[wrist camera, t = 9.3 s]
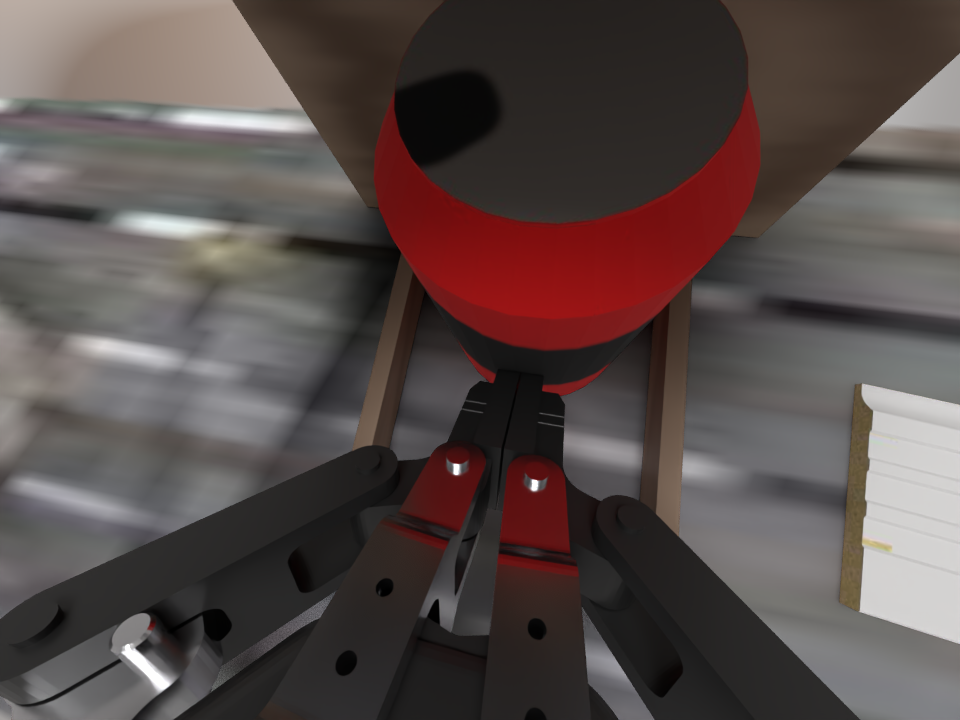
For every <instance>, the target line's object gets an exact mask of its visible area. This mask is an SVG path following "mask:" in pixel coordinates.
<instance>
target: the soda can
mask: <svg viewBox="0 0 960 720" xmlns="http://www.w3.org/2000/svg"><path fill="white" fill-rule="evenodd" d="M759 169H760V129H759V125H758V121H757V117H756V113H755V109H754V105H753V101H752V97H751V93H750V89H749V85H748V55H747V52H746V48H745V45H744V41H743V38H742V34H741V31H740V29H739V27H738V26H737V24H736V22H735V21H734V19H733V17H732V16H731V14H730V12H729V11H728V9H727V7H726V6H725V5H724V4H723V3H722V2H721V1H720V0H445V1H444V2H443V3H442V4H441V5H440V6H439V7H438V8H436V9H435V10H434V11H433V12H432V13H431V14H430V15H429V16H428V18H427V19H426V20H425V22H424V23H423V24H422V25H421V27H420V28H419V29H418V31H417V32H416V33H415V35H414V36H413V38H412V40H411V42H410V44H409V46H408V48H407V49H406V51H405V53H404V55H403V57H402V59H401V63H400V67H399V70H398V74H397V78H396V82H395V90H394V93H393V96H392V98H391V101H390V104H389V107H388V109H387V112H386V115H385V117H384V120H383V123H382V126H381V130H380V134H379V137H378V141H377V145H376V149H375V162H374V184H375V189H376V195H377V200H378V206H379V210H380V212H381V214H382V216H383V219H384V221H385V223H386V226H387V228H388V230H389V232H390V235H391V237H392V238H393V240H394V242H395V243H396V245H397V246H398V248H399V249H400V251H401V253H402V254H403V256H404V257H405V259H406V261H407V262H408V264H409V265H410V267H411V268H412V270H413V272H414V273H415V275H416V276H417V278H418V279H419V281H420V283H421V284H422V286H423V287H424V289H425V291H426V292H427V294H428V295H429V297H430V298H431V300H432V302H433V303H434V305H435V306H436V308H437V309H438V311H439V313H440V314H441V316H442V317H443V319H444V320H445V322H446V324H447V325H448V327H449V328H450V330H451V332H452V333H453V335H454V336H455V338H456V339H457V341H458V343H459V344H460V346H461V347H462V349H463V350H464V352H465V354H466V355H467V357H468V358H469V360H470V361H471V363H472V364H473V365H474V367H475V368H476V369H477V371H478V372H479V373H480V374H481V375H482V376H483V377H484V378H486V379H487V380H488V381H489V382H490V383H493V382H494V379H495V376H496V374H497V371H498V369H504V370H510V371H516V372H520V378H521V374H522V372H523V373H529V374H536V375H543V376H544V381H543V388H542V391H545V392H552V393H558V394H559V395H560V396H562V395H566V394H570V393H572V392H574V391H576V390H578V389H580V388H582V387H584V386H586V385H587V384H588V383H590V382H591V381H592V380H594V379H595V378H596V377H598V376H599V375H600V374H601V373H602V372H603V370H604V369H605V368H606V367H607V366H608V365H609V364H610V363H611V362H612V361H613V360H614V359H615V358H616V357H617V356H618V355H619V354H620V353H621V352H622V351H623V350H624V349H625V348H626V347H627V346H628V344H629V343H630V342H631V341H632V340H633V339H634V338H635V337H636V336H637V335H638V334H639V333H640V332H641V331H642V330H643V329H644V328H645V327H646V326H647V325H648V324H649V323H650V322H651V321H652V320H653V318H654V317H655V316H656V315H657V314H658V313H659V312H660V311H661V310H662V309H663V308H664V307H665V306H666V305H667V304H668V303H669V302H670V301H671V300H672V299H673V298H674V297H675V296H676V295H677V294H678V292H679V291H680V290H681V289H682V288H683V287H684V286H685V285H686V284H687V283H688V282H689V281H690V280H691V279H692V278H693V277H694V276H695V275H696V274H697V273H698V272H699V271H700V270H701V269H702V268H703V266H704V265H705V264H706V263H707V262H708V261H709V260H710V259H711V258H712V257H713V256H714V254H715V253H716V252H717V251H718V250H719V249H720V248H721V246H722V245H723V244H724V243H725V242H726V241H727V240H728V239H729V237H730V236H731V235H732V234H733V233H734V232H735V230H736V228H737V226H738V224H739V222H740V220H741V218H742V217H743V215H744V213H745V211H746V209H747V207H748V205H749V204H750V202H751V200H752V197H753V193H754V189H755V185H756V181H757V177H758V173H759ZM519 383H520V382H519Z"/></svg>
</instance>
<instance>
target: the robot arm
mask: <svg viewBox="0 0 960 720" xmlns="http://www.w3.org/2000/svg"><path fill="white" fill-rule="evenodd" d="M543 381H544V376H543V375H536V374H529V373H523V372H522V374H521V378H520V372H516V371H510V370H504V369H498V371H497V374H496V376H495V379H494V382H493V383H489V382H483V381H480V382H478V383H477V384H476V385H475V386H473V387H472V388H471V389H470V391H469V393H468V395H467V398H466V401H465V402H464V405H463V407H462V410H461V411H460V414H459V416H458V418H457V421H456V423H455V425H454V428H453V430H452V432H451V435H450V437H449V439H448V442H447V443H444V444H442V445H440V446H439V447H437V448H436V449H435V450H434V452H433V453H432V455H431V456H430V457H427V458H424V459H418V460H404V461H398V460H397V457H396V455H395V453H394V452H393V451H392V450H390V449H389V448H387V447H384V446H380V445H369V446H364V447H360V448H358V449H356V450H353V451H351V452H349V453H347V454H344V455H342V456H340V457H338V458H336V459H333V460H331V461H329V462H327V463H325V464H322V465H320V466H318V467H316V468H314V469H311V470H309V471H307V472H305V473H303V474H300V475H298V476H296V477H294V478H292V479H289V480H287V481H285V482H283V483H280V484H278V485H276V486H274V487H272V488H269V489H267V490H265V491H263V492H261V493H258V494H256V495H254V496H252V497H250V498H247V499H245V500H243V501H241V502H239V503H236V504H234V505H232V506H230V507H228V508H225V509H223V510H221V511H219V512H216V513H214V514H212V515H210V516H208V517H205V518H203V519H201V520H199V521H197V522H194V523H192V524H190V525H188V526H186V527H183V528H181V529H179V530H177V531H175V532H172V533H170V534H168V535H166V536H164V537H161V538H159V539H157V540H155V541H152V542H150V543H148V544H146V545H144V546H141V547H139V548H137V549H135V550H133V551H130V552H128V553H126V554H124V555H122V556H119V557H117V558H115V559H113V560H111V561H108V562H106V563H104V564H102V565H100V566H97V567H95V568H93V569H91V570H88V571H86V572H84V573H82V574H80V575H77V576H75V577H73V578H71V579H69V580H66V581H64V582H62V583H60V584H58V585H55V586H53V587H51V588H49V589H47V590H44V591H42V592H40V593H38V594H36V595H34V596H33V597H31V598H29V599H28V600H26V601H24V602H23V603H21V604H20V605H18V606H17V607H15V608H14V609H13V610H11V611H10V612H9V613H7V614H6V615H5V616H4V617H3V618H1V619H0V696H2V697H3V698H4V700H5V702H6V703H7V704H8V705H9V706H10V707H11V708H12V717H11V720H618V718H617V717H616V715H615V714H614V712H613V711H612V710H611V708H610V707H609V706H608V705H607V703H606V702H605V701H604V700H603V699H602V697H601V696H600V695H599V694H598V693H597V692H596V691H595V690H594V689H593V688H592V687H591V686H590V685H589V684H588V679H587V667H586V655H585V643H584V632H583V620H582V608H581V605H582V607H583V609H584V610H585V612H586V613H587V615H588V616H589V618H590V619H591V621H592V623H593V624H594V626H595V627H596V629H597V630H598V632H599V633H600V635H601V637H602V638H603V640H604V641H605V643H606V644H607V646H608V647H609V649H610V651H611V652H612V654H613V655H614V657H615V658H616V660H617V661H618V663H619V665H620V666H621V668H622V669H623V671H624V672H625V674H626V676H627V677H628V679H629V680H630V682H631V683H632V685H633V686H634V688H635V690H636V691H637V693H638V694H639V696H640V697H641V699H642V700H643V702H644V704H645V705H646V707H647V708H648V710H649V711H650V713H651V714H652V716H653V718H654V719H655V720H860V719H859V718H858V717H857V716H856V715H855V714H854V713H853V712H852V711H851V710H850V709H849V708H848V707H847V706H846V705H845V704H844V703H843V702H842V701H841V700H840V699H839V698H838V697H837V696H836V695H835V694H834V693H833V692H832V691H831V690H830V689H829V688H828V687H827V686H826V685H825V684H824V683H823V682H822V681H821V680H820V679H819V678H818V677H817V676H816V675H815V674H814V673H813V672H812V671H811V670H810V669H809V668H808V667H807V666H806V665H805V664H804V663H803V662H802V661H801V660H800V659H799V658H798V657H797V656H796V655H795V654H794V653H793V652H792V651H791V650H790V649H789V648H788V647H787V646H786V645H785V644H784V642H783V641H782V640H781V639H780V638H779V637H778V636H777V635H776V634H775V633H774V632H773V631H772V630H771V629H770V628H769V627H768V626H767V625H766V624H765V623H764V622H763V621H762V620H761V619H760V618H759V617H758V616H757V615H756V614H755V613H754V612H753V611H752V610H751V609H750V608H749V607H748V606H747V605H746V604H745V603H744V602H743V601H742V600H741V599H740V598H739V597H738V596H737V595H736V594H735V593H734V592H733V591H732V590H731V589H730V588H729V587H728V586H727V585H726V584H725V583H724V582H723V581H722V580H721V579H720V578H719V577H718V576H717V575H716V574H715V573H714V572H713V571H712V570H711V569H710V568H709V567H708V566H707V565H706V564H705V563H704V562H703V561H702V560H701V559H700V558H699V557H698V556H697V555H696V554H695V553H694V552H693V551H692V550H691V549H690V548H689V547H688V546H687V545H686V544H685V543H684V542H683V541H682V540H681V539H680V538H679V537H678V536H677V535H676V534H675V533H674V532H673V531H672V530H671V529H670V528H669V527H668V525H667V524H666V523H665V522H664V521H663V520H662V519H661V518H660V517H659V516H658V515H657V514H656V513H655V512H654V511H653V510H651V509H650V508H649V507H648V506H647V505H645V504H644V503H642V502H640V501H639V500H636V499H634V498H631V497H628V496H622V495H615V496H610V497H607V498H605V499H603V500H602V501H599V500H597V499H595V498H593V497H591V496H589V495H587V494H585V493H583V492H581V491H580V490H578V489H577V488H576V487H575V486H574V485H572V484H571V482H570V481H569V480H568V479H567V477H566V475H565V473H564V470H563V440H564V414H565V404H564V402H563V401H562V399H561V397H560V395H559V394H558V393H552V392H545V391H542V388H543ZM519 382H520V383H519ZM499 491H500V493H499ZM498 496H499V503H498V510H499V511H503V513H502V522H501V530H500V539H499V549H498V558H497V567H496V576H495V585H494V595H493V604H492V613H491V622H490V631H489V635H485V636H458V635H454V634H453V633H451V632H452V628H453V623H454V618H455V613H456V608H457V605H458V601H459V598H460V595H461V592H462V589H463V586H464V583H465V580H466V577H467V574H468V571H469V568H470V565H471V562H472V559H473V556H474V552H475V549H476V546H477V543H478V540H479V537H480V534H481V528H482V526H483V523H484V519H485V515H486V511H487V508H489V509H494V510H496V505H497V501H498ZM336 590H337V592H336V593H335V595H334V596H333V598H332V600H331V601H330V603H329V605H328V606H327V608H326V609H325V611H324V613H323V614H322V616H321V618H319V619H317V620H315V621H313V622H311V623H309V624H307V625H306V626H304V627H302V628H300V629H299V630H297V631H296V632H294V633H293V634H292V635H290V636H289V637H287V638H286V639H285V640H283V641H282V642H281V643H279V644H278V645H276V646H275V647H274V648H272V649H271V650H269V651H268V652H267V653H265V654H264V655H262V656H261V657H260V658H258V659H257V660H255V661H254V662H253V663H251V664H250V665H249V666H247V667H246V668H244V669H243V670H242V671H240V672H239V673H237V674H236V675H235V676H233V677H232V678H230V679H229V680H228V681H226V682H225V683H223V684H222V685H221V686H219V687H218V688H216V689H215V690H214V691H212V692H211V690H212V686H213V684H214V682H215V681H216V679H217V677H218V674H219V672H220V669H221V666H222V665H224V664H225V663H227V662H228V661H230V660H232V659H233V658H235V657H236V656H238V655H239V654H241V653H242V652H244V651H245V650H247V649H248V648H250V647H251V646H253V645H254V644H256V643H257V642H259V641H260V640H262V639H263V638H265V637H266V636H268V635H269V634H271V633H273V632H274V631H276V630H277V629H279V628H280V627H282V626H283V625H285V624H286V623H288V622H289V621H291V620H292V619H294V618H295V617H297V616H298V615H300V614H301V613H303V612H304V611H306V610H307V609H309V608H311V607H312V606H314V605H315V604H317V603H318V602H320V601H321V600H323V599H324V598H326V597H327V596H329V595H330V594H332V593H333V592H335V591H336Z"/></svg>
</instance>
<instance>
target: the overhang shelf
mask: <svg viewBox="0 0 960 720" xmlns="http://www.w3.org/2000/svg"><path fill="white" fill-rule="evenodd" d="M444 1H445V0H233V2H234V3H235V5H236V6H237V8H238V10H239V11H240V13H241V14H242V16H243V17H244V19H245V20H246V22H247V23H248V25H249V26H250V28H251V29H252V31H253V32H254V34H255V35H256V37H257V39H258V40H259V42H260V43H261V45H262V46H263V48H264V49H265V51H266V52H267V54H268V55H269V57H270V58H271V60H272V62H273V63H274V64H275V66H276V68H277V69H278V70H279V72H280V74H281V75H282V77H283V78H284V80H285V81H286V83H287V84H288V86H289V87H290V89H291V91H292V92H293V94H294V95H295V97H296V98H297V100H298V101H299V102H300V104H301V106H302V107H303V109H304V110H305V112H306V114H307V115H308V117H309V118H310V120H311V121H312V123H313V124H314V126H315V127H316V129H317V130H318V132H319V133H320V135H321V136H322V138H323V140H324V141H325V143H326V144H327V146H328V147H329V149H330V150H331V152H332V153H333V155H334V156H335V158H336V159H337V161H338V162H339V164H340V166H341V167H342V169H343V170H344V172H345V173H346V175H347V176H348V178H349V179H350V181H351V182H352V184H353V185H354V187H355V188H356V190H357V192H358V193H359V195H360V196H361V198H362V199H363V201H364V202H365V204H366V205H367V207H378V208H379V206H378V200H377V195H376V189H375V184H374V162H375V149H376V145H377V141H378V137H379V134H380V130H381V126H382V123H383V120H384V117H385V115H386V112H387V109H388V107H389V104H390V101H391V98H392V96H393V93H394V90H395V82H396V78H397V74H398V70H399V67H400V63H401V59H402V57H403V55H404V53H405V51H406V49H407V48H408V46H409V44H410V42H411V40H412V38H413V36H414V35H415V33H416V32H417V31H418V29H419V28H420V27H421V25H422V24H423V23H424V22H425V20H426V19H427V18H428V16H429V15H430V14H431V13H432V12H433V11H434V10H435V9H436V8H438V7H439V6H440V5H441V4H442V3H443V2H444ZM720 1H721V2H722V3H723V4H724V5H725V6H726V7H727V9H728V11H729V12H730V14H731V16H732V17H733V19H734V21H735V22H736V24H737V26H738V27H739V29H740V31H741V34H742V38H743V41H744V45H745V48H746V52H747V55H748V85H749V89H750V93H751V97H752V101H753V105H754V109H755V113H756V117H757V121H758V125H759V129H760V169H759V173H758V177H757V181H756V185H755V189H754V193H753V197H752V200H751V202H750V204H749V205H748V207H747V209H746V211H745V213H744V215H743V217H742V218H741V220H740V222H739V224H738V226H737V228H736V230H735V232H734V233H733V234H732V236H745V237H757V238H759V237H760V236H761V235H762V234H763V233H764V232H765V231H766V230H767V229H768V228H769V227H771V226H772V225H773V224H774V223H775V222H776V221H777V220H778V219H779V218H780V217H781V216H783V215H784V214H785V213H786V212H787V211H788V210H789V209H790V208H791V207H792V206H793V205H795V204H796V203H797V202H798V201H799V200H800V199H801V198H802V197H803V196H804V195H805V194H807V193H808V192H809V191H810V190H811V189H812V188H813V187H814V186H815V185H816V184H817V183H819V182H820V181H821V180H822V179H823V178H824V177H825V176H826V175H827V174H828V173H829V172H831V171H832V170H833V169H834V168H835V167H836V166H837V165H838V164H839V163H840V162H841V161H843V160H844V159H845V158H846V157H847V156H848V155H849V154H850V153H851V152H852V151H854V150H855V149H856V148H857V147H858V146H859V145H860V144H861V143H862V142H863V141H864V140H866V139H867V138H868V137H869V136H870V135H871V134H872V133H873V132H874V131H875V130H876V129H878V128H879V127H880V126H881V125H882V124H883V123H884V122H885V121H886V120H887V119H888V118H890V116H892V115H893V114H894V113H895V112H896V111H897V110H898V109H899V108H900V107H901V106H902V105H904V104H905V103H906V102H907V101H908V100H909V99H910V98H911V97H912V96H914V95H915V94H916V93H917V92H918V91H919V90H920V89H921V88H922V87H923V86H924V85H926V83H928V82H929V81H930V80H931V79H932V78H933V77H934V76H935V75H936V74H938V72H940V71H941V70H942V69H943V68H944V67H945V66H946V65H947V64H948V63H950V62H951V61H952V60H953V59H954V58H955V57H956V56H957V55H958V54H959V53H960V0H720ZM691 290H692V279H691V280H690V281H689V282H688V283H687V284H686V285H685V286H684V287H683V288H682V289H681V290H680V291H679V292H678V294H677V295H676V296H675V297H674V298H673V299H672V300H671V301H670V302H669V303H668V304H667V305H666V306H665V307H664V308H663V309H662V310H661V311H660V312H659V313H658V314H657V315H656V316H655V317H654V319H653V332H652V345H651V359H650V372H649V385H648V398H647V411H646V425H645V438H644V451H643V464H642V477H641V491H640V502H642V503H644V504H645V505H647V506H648V507H649V508H650V509H651V510H653V511H654V512H655V513H656V514H657V515H658V516H659V517H660V518H661V519H662V520H663V521H664V522H665V523H666V524H667V525H668V527H669V528H670V529H671V530H672V531H673V532H674V533H675V534H676V535H677V536H678V537H679V519H680V499H681V480H682V461H683V442H684V423H685V404H686V385H687V366H688V347H689V328H690V309H691ZM424 292H425V289H424V287H423V286H422V284H421V283H420V281H419V279H418V278H417V276H416V275H415V273H414V272H413V270H412V268H411V267H410V265H409V264H408V262H407V261H406V259H405V257H404V256H403V254H402V253H401V255H400V259H399V263H398V267H397V272H396V276H395V280H394V284H393V288H392V292H391V296H390V300H389V304H388V308H387V312H386V316H385V320H384V324H383V328H382V332H381V336H380V340H379V344H378V348H377V352H376V356H375V360H374V364H373V368H372V372H371V376H370V380H369V384H368V388H367V392H366V396H365V400H364V404H363V408H362V413H361V417H360V421H359V425H358V429H357V433H356V437H355V441H354V445H353V449H352V451H353V450H356V449H358V448H360V447H364V446H369V445H380V446H384V447H387V448H389V446H390V442H391V437H392V433H393V428H394V424H395V420H396V415H397V411H398V406H399V402H400V398H401V393H402V389H403V384H404V380H405V376H406V371H407V367H408V362H409V358H410V353H411V349H412V345H413V340H414V336H415V331H416V327H417V323H418V318H419V314H420V309H421V305H422V301H423V296H424Z"/></svg>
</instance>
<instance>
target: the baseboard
mask: <svg viewBox="0 0 960 720" xmlns="http://www.w3.org/2000/svg"><path fill="white" fill-rule="evenodd" d="M839 602H840V603H842V604H844V605H846V606H848V607H850V608H852V609H854V610H856V611H858V612H861V613H865V614H868V615H871V616H874V617H877V618H880V619H883V620H886V621H889V622H893V623H896V624H899V625H902V626H905V627H908V628H911V629H914V630H917V631H920V632H924V633H927V634H930V635H933V636H936V637H939V638H942V639H945V640H948V641H952V642H955V643H958V644H960V405H958V404H953V403H948V402H944V401H939V400H935V399H930V398H926V397H921V396H917V395H912V394H908V393H903V392H898V391H894V390H889V389H885V388H880V387H876V386H871V385H867V384H862V383H861V384H856V385H855V393H854V407H853V421H852V435H851V448H850V462H849V476H848V490H847V504H846V517H845V531H844V545H843V559H842V573H841V586H840V600H839Z"/></svg>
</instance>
